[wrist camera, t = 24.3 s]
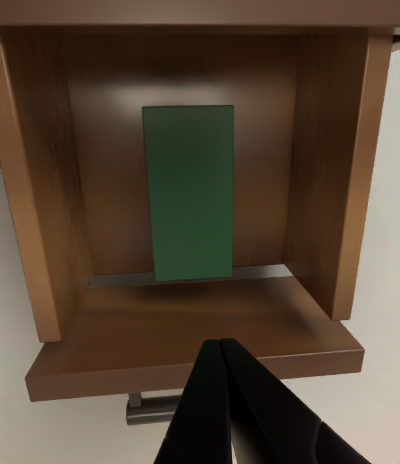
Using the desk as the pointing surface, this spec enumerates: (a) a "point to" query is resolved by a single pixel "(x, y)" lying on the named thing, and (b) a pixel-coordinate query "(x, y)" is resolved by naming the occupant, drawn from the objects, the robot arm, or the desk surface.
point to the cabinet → (202, 17)
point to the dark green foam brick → (190, 189)
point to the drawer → (137, 203)
